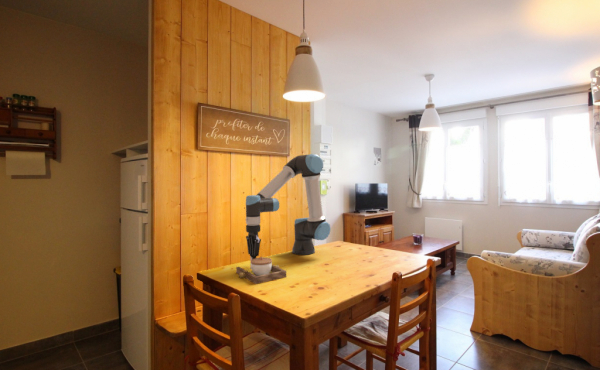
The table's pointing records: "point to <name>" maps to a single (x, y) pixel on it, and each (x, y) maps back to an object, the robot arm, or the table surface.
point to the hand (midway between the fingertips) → (253, 268)
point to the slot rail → (262, 278)
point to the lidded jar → (261, 266)
